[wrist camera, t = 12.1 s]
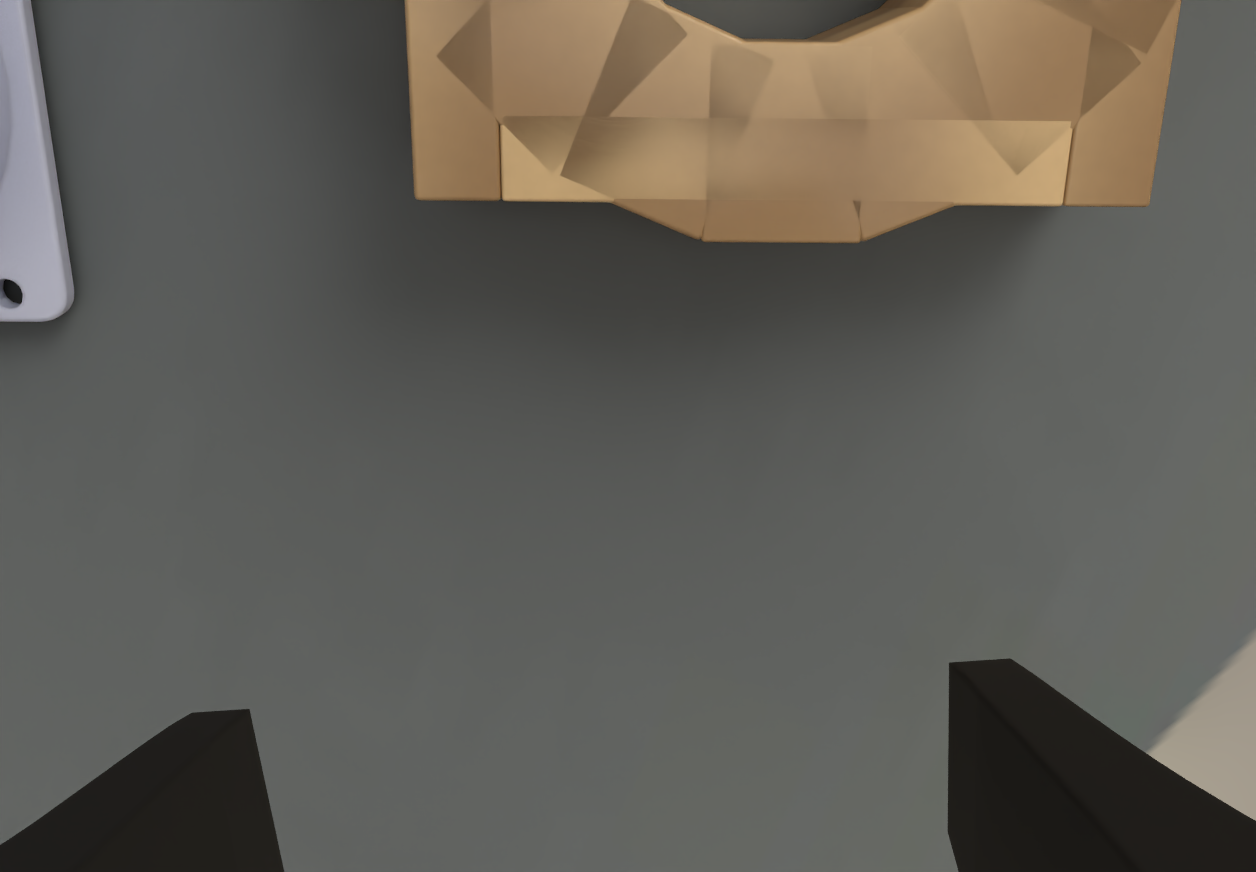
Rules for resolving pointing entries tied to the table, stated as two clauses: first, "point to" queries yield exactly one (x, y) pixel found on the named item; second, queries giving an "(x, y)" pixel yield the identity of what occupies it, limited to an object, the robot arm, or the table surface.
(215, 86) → the table surface
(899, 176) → the holder
